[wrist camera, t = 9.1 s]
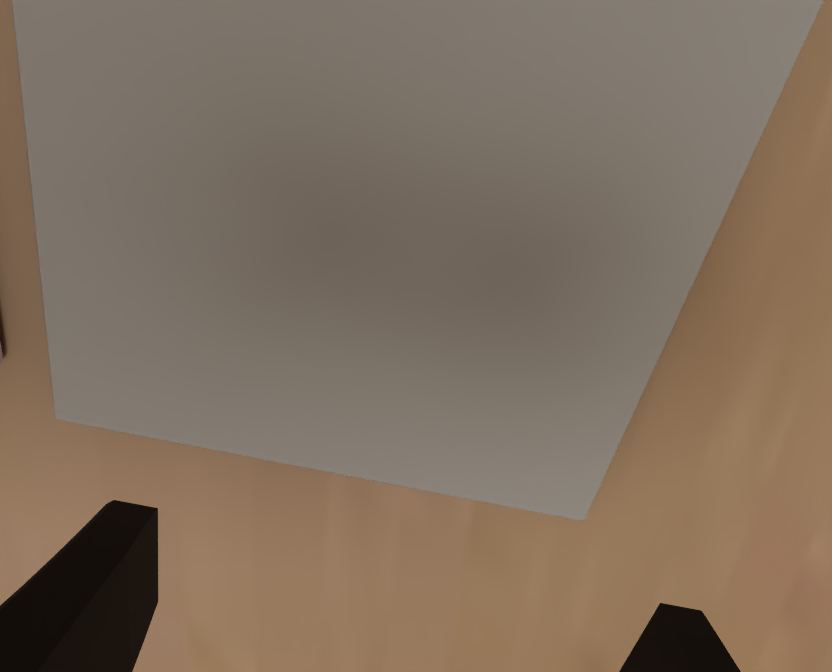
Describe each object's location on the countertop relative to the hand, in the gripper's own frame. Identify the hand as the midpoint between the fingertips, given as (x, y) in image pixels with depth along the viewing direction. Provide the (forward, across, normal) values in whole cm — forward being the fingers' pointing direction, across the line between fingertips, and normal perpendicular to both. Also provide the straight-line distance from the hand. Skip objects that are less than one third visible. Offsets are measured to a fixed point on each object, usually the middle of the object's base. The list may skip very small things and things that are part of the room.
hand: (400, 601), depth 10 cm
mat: (+10, +2, -1) cm, 11 cm away
